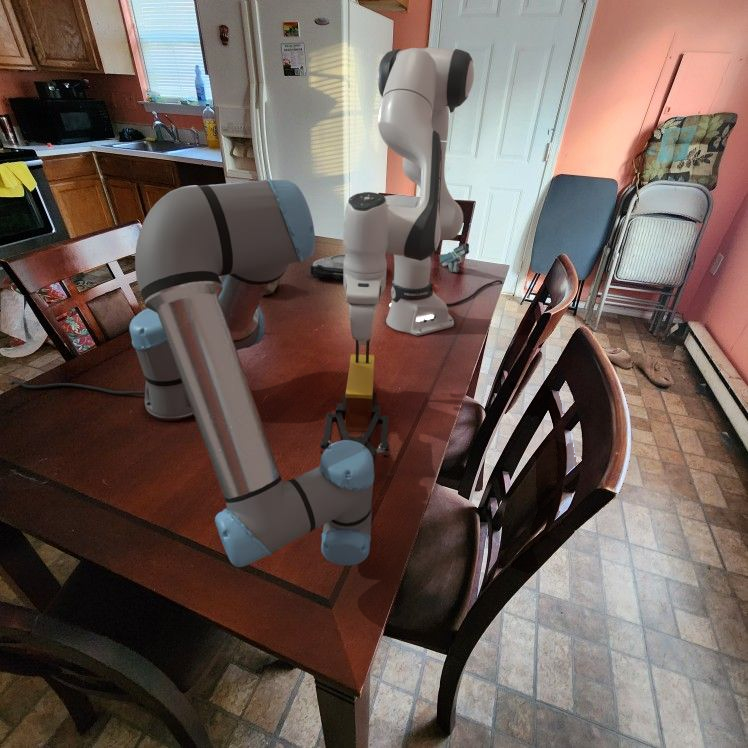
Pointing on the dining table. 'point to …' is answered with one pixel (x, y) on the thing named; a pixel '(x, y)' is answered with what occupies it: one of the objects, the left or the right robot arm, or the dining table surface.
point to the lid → (360, 374)
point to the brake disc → (329, 267)
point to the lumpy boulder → (272, 287)
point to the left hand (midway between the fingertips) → (359, 397)
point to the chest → (358, 413)
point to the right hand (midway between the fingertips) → (363, 337)
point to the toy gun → (455, 257)
